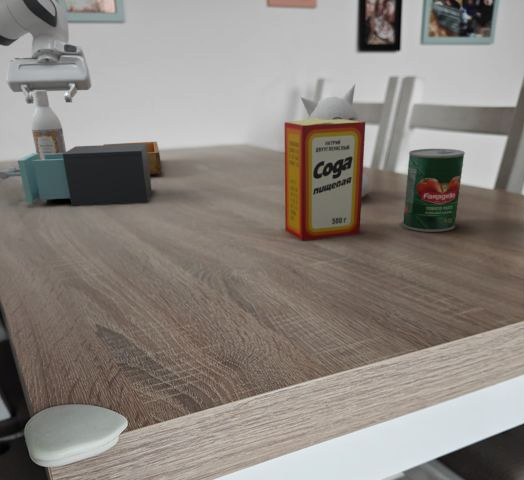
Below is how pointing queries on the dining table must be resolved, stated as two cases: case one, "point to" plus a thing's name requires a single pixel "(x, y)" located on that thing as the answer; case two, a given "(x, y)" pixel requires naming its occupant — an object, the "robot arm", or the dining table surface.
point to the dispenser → (108, 174)
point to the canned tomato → (432, 189)
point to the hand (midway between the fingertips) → (48, 101)
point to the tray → (150, 156)
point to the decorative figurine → (335, 115)
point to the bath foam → (46, 127)
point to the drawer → (41, 176)
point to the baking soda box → (323, 177)
